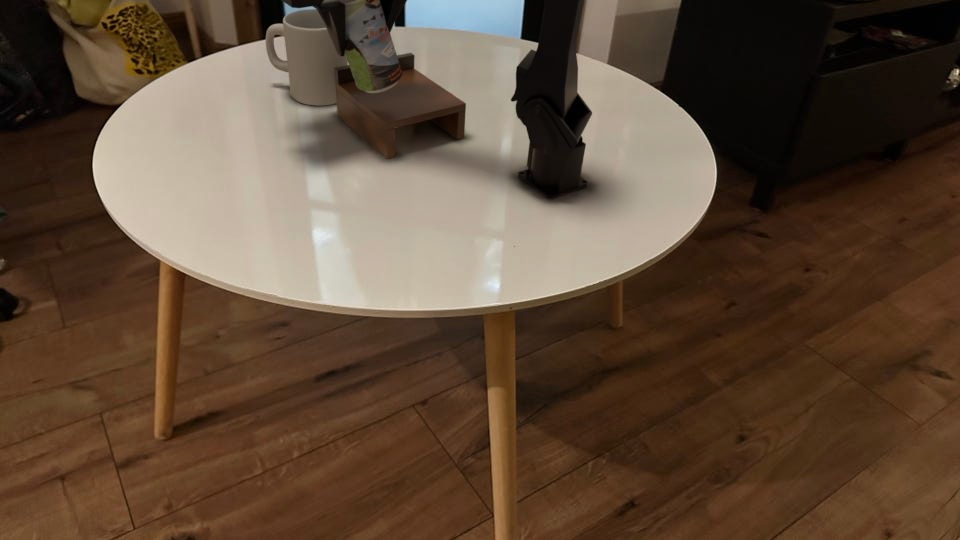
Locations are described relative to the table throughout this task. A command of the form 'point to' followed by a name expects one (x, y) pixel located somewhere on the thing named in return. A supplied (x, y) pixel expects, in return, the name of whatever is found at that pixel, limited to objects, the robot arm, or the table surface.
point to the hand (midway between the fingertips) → (360, 51)
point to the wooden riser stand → (397, 106)
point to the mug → (307, 57)
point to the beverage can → (370, 46)
